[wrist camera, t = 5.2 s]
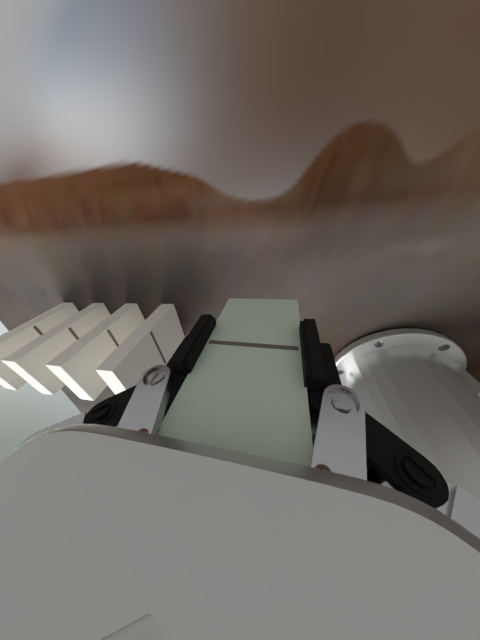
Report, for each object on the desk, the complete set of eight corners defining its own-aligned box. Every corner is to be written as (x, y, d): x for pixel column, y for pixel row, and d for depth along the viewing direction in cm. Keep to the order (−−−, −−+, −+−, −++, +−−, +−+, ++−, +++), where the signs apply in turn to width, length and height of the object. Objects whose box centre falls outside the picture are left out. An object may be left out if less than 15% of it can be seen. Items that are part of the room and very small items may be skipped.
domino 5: (229, 298, 14) (150, 443, 6) (297, 299, 13) (316, 480, 5) (231, 316, 15) (165, 463, 7) (295, 318, 14) (309, 498, 6)
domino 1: (72, 302, 25) (-26, 357, 17) (93, 331, 28) (17, 390, 20) (63, 302, 25) (-39, 356, 17) (84, 330, 28) (6, 388, 20)
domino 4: (173, 303, 22) (112, 371, 14) (184, 335, 25) (139, 407, 17) (161, 303, 22) (94, 369, 14) (173, 335, 25) (124, 404, 17)
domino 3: (137, 303, 23) (60, 366, 15) (151, 334, 26) (94, 400, 18) (125, 303, 23) (44, 364, 15) (141, 333, 26) (80, 398, 18)
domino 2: (103, 303, 24) (14, 361, 16) (121, 332, 27) (53, 395, 19) (93, 302, 24) (0, 360, 16) (112, 332, 27) (41, 393, 19)
